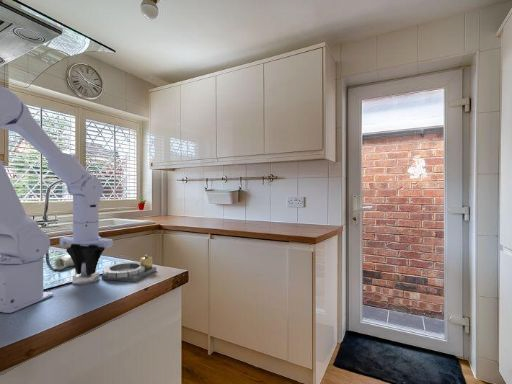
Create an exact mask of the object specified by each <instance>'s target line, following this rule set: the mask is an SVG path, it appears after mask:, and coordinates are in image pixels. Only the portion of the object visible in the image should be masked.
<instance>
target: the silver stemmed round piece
mask: <svg viewBox="0 0 512 384" xmlns="http://www.w3.org/2000/svg"><path fill="white" fill-rule="evenodd" d="M99 280H100V273H99V272H98V271H95V273H94V274H91V275H87V273H86V262H85V261H83V262H81V274H77V273H76V274H75V275H72V284H73V285H74V286H75V285H76V286H82V285H83V286H84V285H89V284H93V283H96V282H99Z"/></svg>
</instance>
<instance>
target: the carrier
mask: <svg viewBox="0 0 512 384" xmlns="http://www.w3.org/2000/svg"><path fill="white" fill-rule="evenodd" d="M155 272H157V266H153V257H152V256H149V254H144V255H143V256H142V257H140V259H139V261H126V262H124V261H123V262H119V263H113V264H110V265H107V266H105V267H104V268H103V269H102V274H101V280H106V281H115V282H116V281H117V282H118V281H119V282H129V283H136V282H138V281H140V280H142V279H143V278H146V277H148V276H149V275H152V274H153V273H155Z"/></svg>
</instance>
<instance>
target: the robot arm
mask: <svg viewBox="0 0 512 384" xmlns="http://www.w3.org/2000/svg"><path fill="white" fill-rule="evenodd" d="M1 129H2V130H6V131H10V132H14V133H17V134H18V135H19V136H20V137H22V139H24V140H25V141H26V142H28V144H29V145H31V146H32V147H33V148H34V149H35V150H37V152H39V154H41V155H42V156H43V157H44V158H45V159H47V168H48V169H49V170H50V171H51V173H53V174H55V176H56V177H58V178H59V179H60V180H61V181H62V182H63V183H64V184H65V185H66V190H67V192H68V194H69V195H71V196H72V236H64V237H60V238H59V246H70V247H67V248H66V249H65V250H66V251H65V252H66V253H67V255H70V257H71V258H72V260H73V263H74V265H75V266H74V268H75V269H74V270H75V272H76V274H81V262H83V261H85V262H86V273H87V275H91V274H94V273H95V272H97V271H96V270H97V266H98V265H99V264H98V263H99V261H100V258H101V256H102V254H103V252H104V251H105V249H109V248H112V247H113V246H114V240H113V239H111V238H105V237H101V236H100V234H99V232H100V231H99V227H100V226H99V220H100V219H99V217H100V216H99V209H100V207H99V205H100V203H101V196H102V195H103V193H104V190H105V186H103V184H102V182H101V180H100V179H99V178H98V177H96V176H93V175H91V174H90V171H89V170H88V169H86V168H85V167H84V166H83V165H82V164H81V163H80V162H79V160H78V156H76V155H75V154H72V153H71V152H69V151H63V150H61V149H60V147H59V146H58V145H57V144H56V143H55V142H54V141H53V139H52V138H51V137H50V136H49V135H48V133H47V132H46V131H45V130H44V129H43V127H42V126H41V125H40V124H39V123H38V122H37V120H36V119H35V117H34V116H33V115H32V113H31V111H30V109H29V106H28V105H27V104H25V103H24V102H23V101H21V100H20V98H19V97H18V95H17V94H16V93H15V92H14V91H12V90H11V89H10V88H8V87H6V86H1V85H0V130H1ZM23 206H24V205H22V202H21V200H20V197H19V195H18V193H17V192H16V189H15V188H14V185H13V183H12V180H11V179H10V177H9V175H8V173H7V171H6V168H5V166H4V164H3V162H2V160H1V159H0V313H5V314H6V313H7V314H11V313H14V312H17V311H19V310H22V309H24V308H27V307H28V306H30V305H33V304H35V303H38V302H41V301H43V300H46V299H48V298H49V297H53V296H54V295H55V293H54V292H47V291H44V259H45V257H44V256H45V255H46V254H47V253H48V251H49V249H50V247H51V239H50V237H49V235H48V234H47V232H45V231H44V230H42V229H41V228H40V227H39V225H38V222H37V221H35V220H34V219H33V218H32V217H30V215H28V214H27V213H26V211H25V208H24V207H23Z"/></svg>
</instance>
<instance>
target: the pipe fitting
mask: <svg viewBox="0 0 512 384" xmlns="http://www.w3.org/2000/svg"><path fill="white" fill-rule="evenodd" d="M54 267H55V268H56V269H58V270H63V269H65V268H68V267H75V265H74V263H73V260H72V258H71V257H70V255H69V254H67V255H62V256H59V257H57V258H56V259H54Z"/></svg>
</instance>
